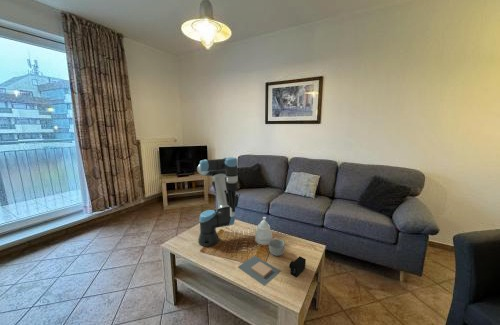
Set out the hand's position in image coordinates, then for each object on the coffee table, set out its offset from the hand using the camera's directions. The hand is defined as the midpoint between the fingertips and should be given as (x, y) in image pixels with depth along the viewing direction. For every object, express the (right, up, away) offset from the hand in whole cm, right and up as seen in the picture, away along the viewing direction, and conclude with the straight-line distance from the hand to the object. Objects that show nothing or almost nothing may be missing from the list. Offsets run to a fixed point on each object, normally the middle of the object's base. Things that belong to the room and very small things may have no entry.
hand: (232, 216), depth 138 cm
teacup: (+30, -28, +8) cm, 42 cm away
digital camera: (+40, -31, -10) cm, 52 cm away
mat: (+17, -31, -9) cm, 37 cm away
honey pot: (+22, -25, +23) cm, 40 cm away
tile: (+15, -29, -8) cm, 34 cm away
